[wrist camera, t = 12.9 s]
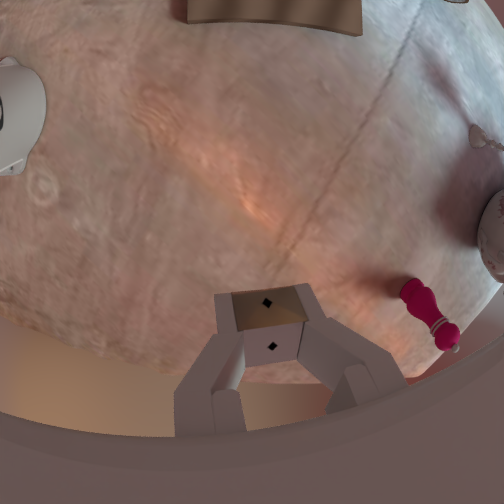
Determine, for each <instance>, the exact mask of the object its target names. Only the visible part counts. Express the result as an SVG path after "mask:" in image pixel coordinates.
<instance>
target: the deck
mask: <svg viewBox="0 0 504 504" xmlns="http://www.w3.org/2000/svg"><path fill="white" fill-rule="evenodd" d="M187 22H188V24H198V23H218V22H251V23H270V24H282V25H292V26H300V27H307V28H314V29H320V30H326V31H331V32H336V33H341V34H345V35H350V36H354V37H357V36H361V35H363V29H362V3H361V0H188V6H187Z"/></svg>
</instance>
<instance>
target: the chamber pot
mask: <svg viewBox="0 0 504 504" xmlns="http://www.w3.org/2000/svg"><path fill="white" fill-rule="evenodd" d="M477 240H478V248H479V251H480V255H481V258H482V261H483V263H484V265H485V267H486V268H487V270H488V271H489V273H490V274H491V276H492V277H493V278H494V279H495V280H496V281H497V282H499V283H504V189H503V190H501V191H499V192H498V193H496V194H495V195H494V196H493V197H492V199H491V200H490V201H489V203H488V205H487V206H486V208H485V210H484V213H483V215H482V217H481V220H480V224H479V227H478V233H477ZM503 294H504V293H503Z"/></svg>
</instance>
